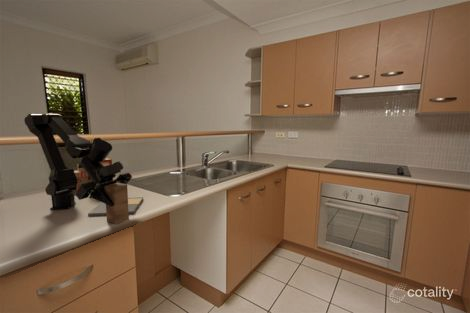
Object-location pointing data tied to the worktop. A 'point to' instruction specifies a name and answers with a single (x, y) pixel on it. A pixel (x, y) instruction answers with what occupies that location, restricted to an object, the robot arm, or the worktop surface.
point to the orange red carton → (81, 177)
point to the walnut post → (117, 203)
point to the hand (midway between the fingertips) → (119, 203)
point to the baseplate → (132, 207)
